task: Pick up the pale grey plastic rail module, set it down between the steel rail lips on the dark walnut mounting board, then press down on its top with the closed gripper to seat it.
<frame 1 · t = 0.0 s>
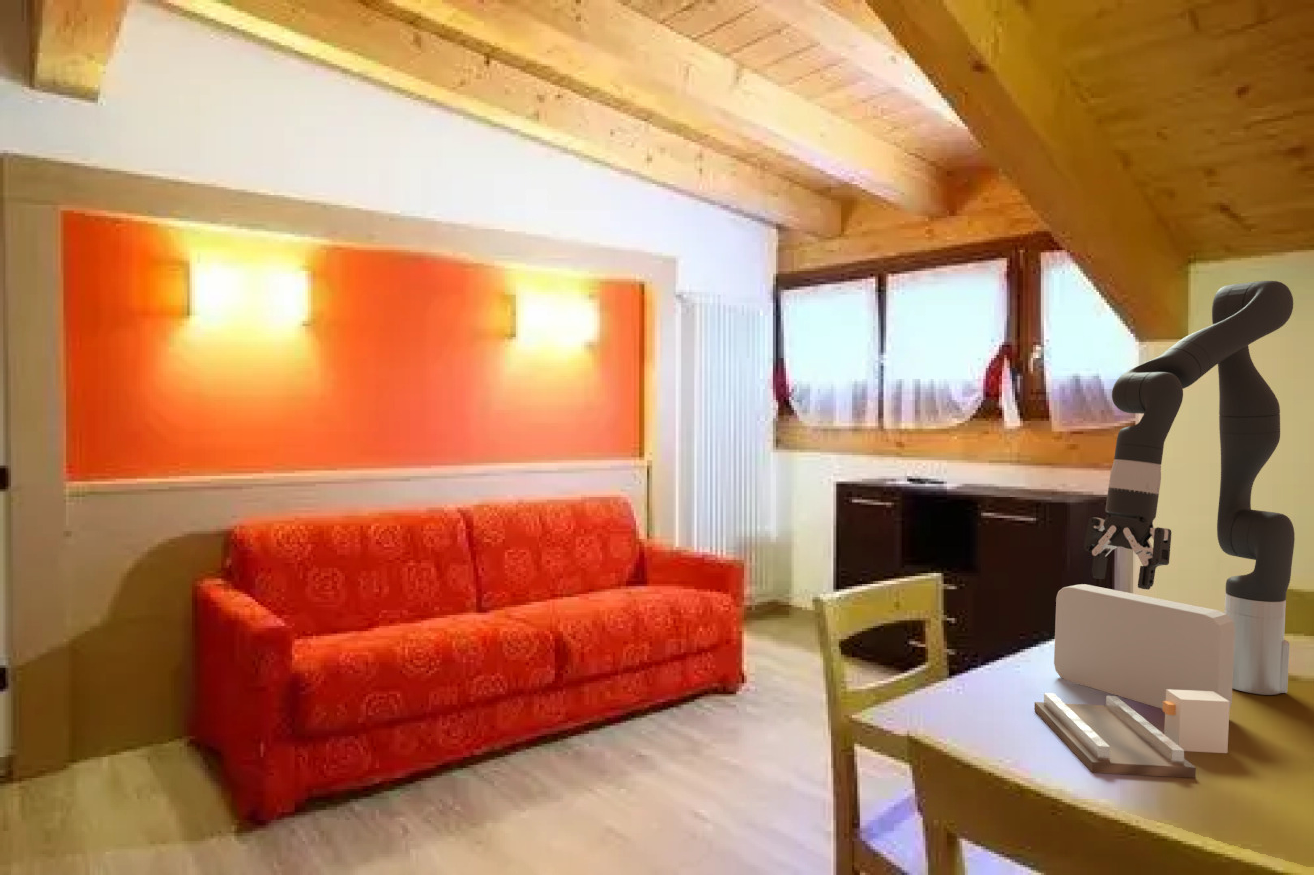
hand: (1120, 583, 143), 22 cm above the table, tool pointing down, fingers open, 8 cm apart
rail module: (1195, 746, 130), on the table
rounded white slab: (1136, 697, 152), on the table
mounting rail: (1107, 725, 132), on the mounting board, point 2 cm above the table
mounting board: (1107, 741, 132), on the table
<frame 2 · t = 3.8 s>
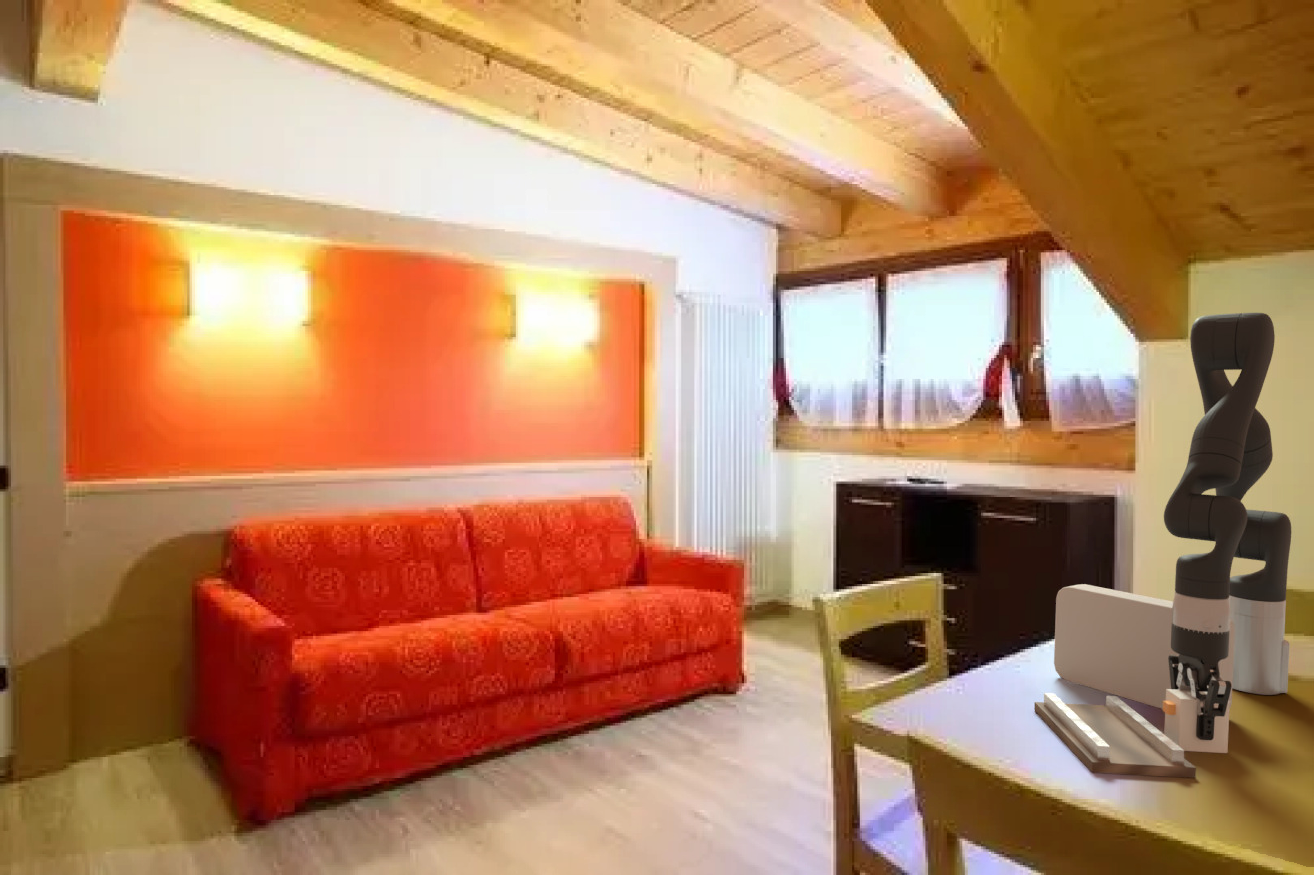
hand: (1195, 732, 130), 2 cm above the table, tool pointing down, fingers closed on rail module, 4 cm apart
rail module: (1195, 745, 130), on the table, touching gripper
everything else where it was.
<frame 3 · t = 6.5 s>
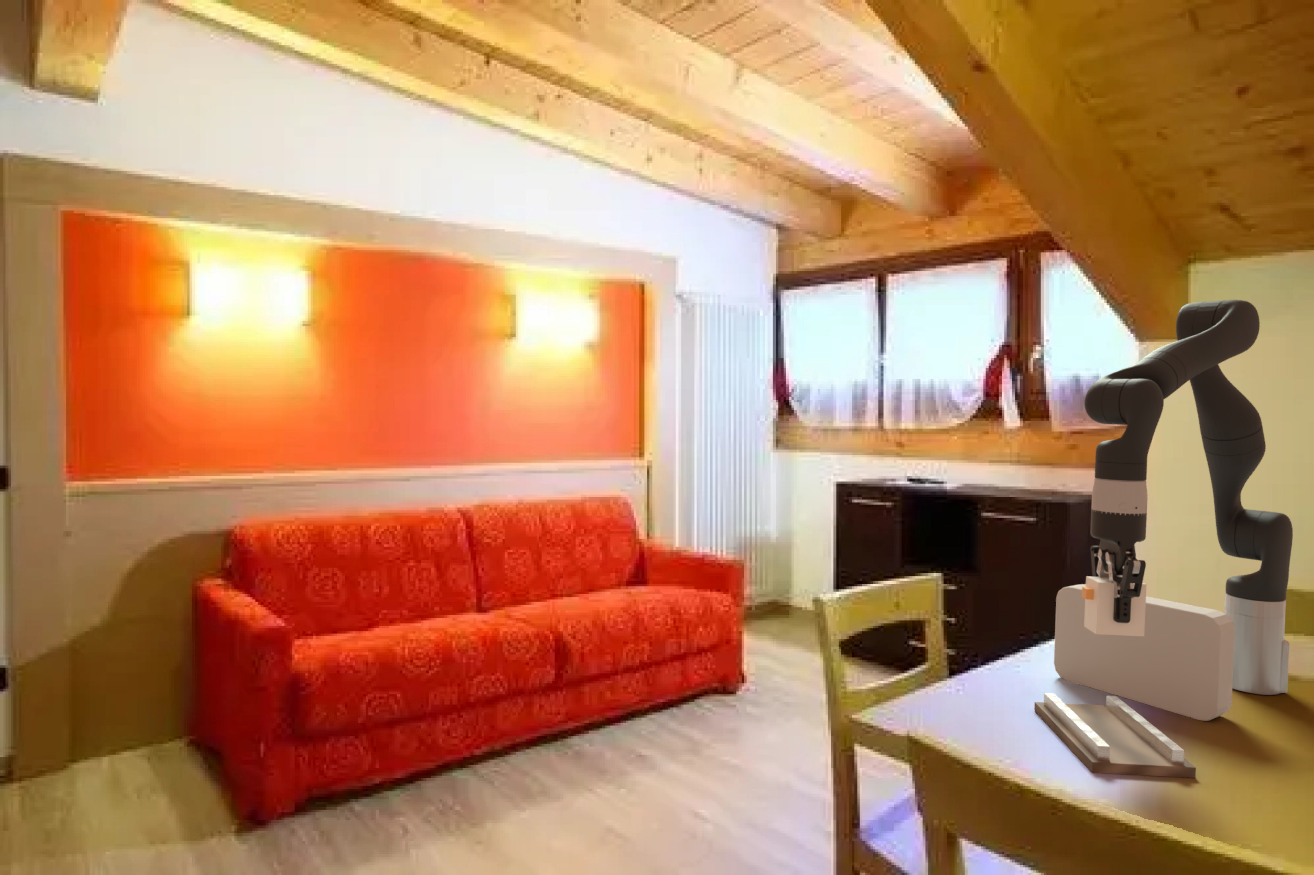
hand: (1114, 617, 130), 20 cm above the table, tool pointing down, fingers closed on rail module, 4 cm apart
rail module: (1113, 631, 131), point 18 cm above the table, touching gripper
everything else where it was.
when the fingers open (5 cm above the table, at t = 9.2 s): rail module stays where it is, resting on mounting board.
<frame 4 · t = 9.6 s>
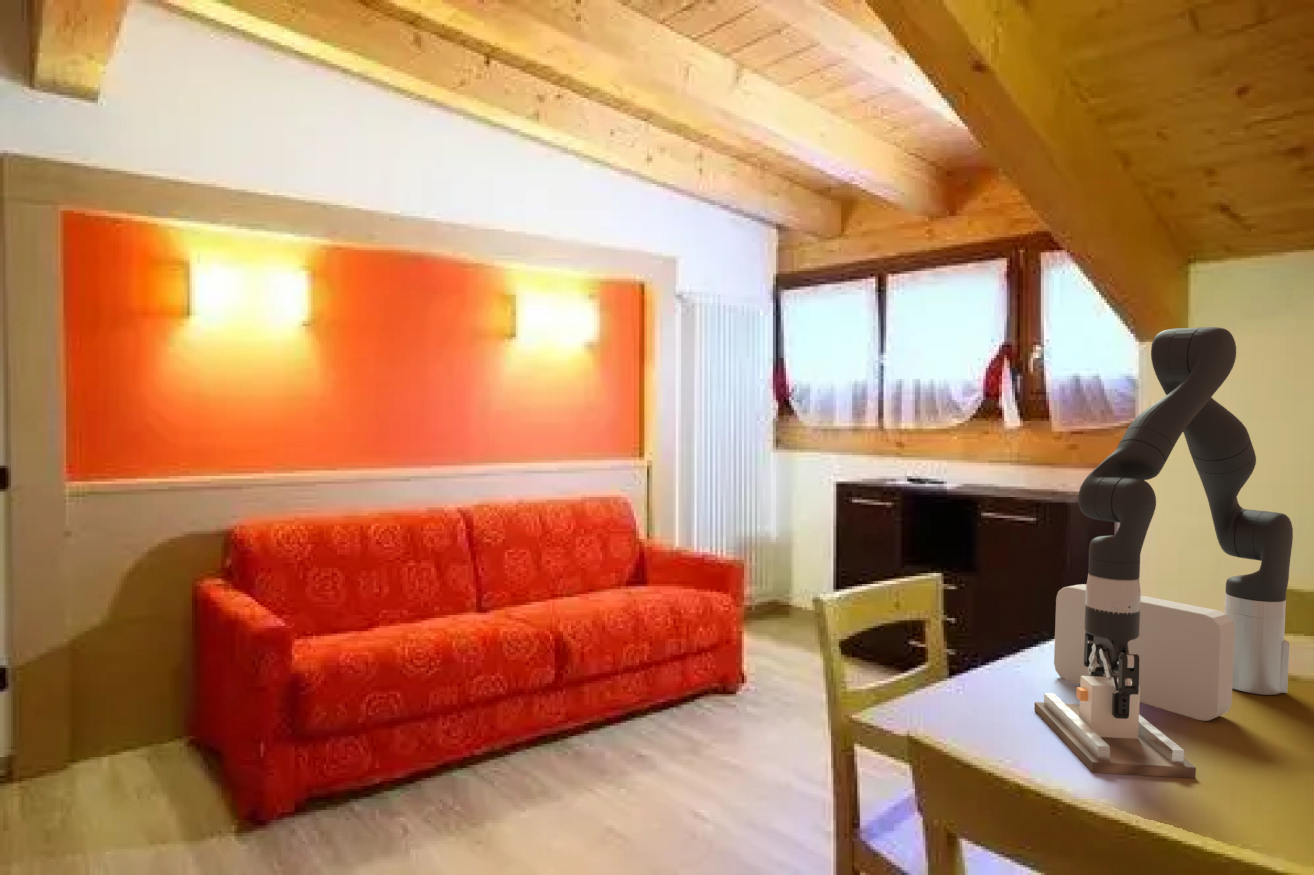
hand: (1108, 707, 131), 5 cm above the table, tool pointing down, fingers open, 8 cm apart
rail module: (1107, 731, 132), point 1 cm above the table, touching mounting board
everything else where it was.
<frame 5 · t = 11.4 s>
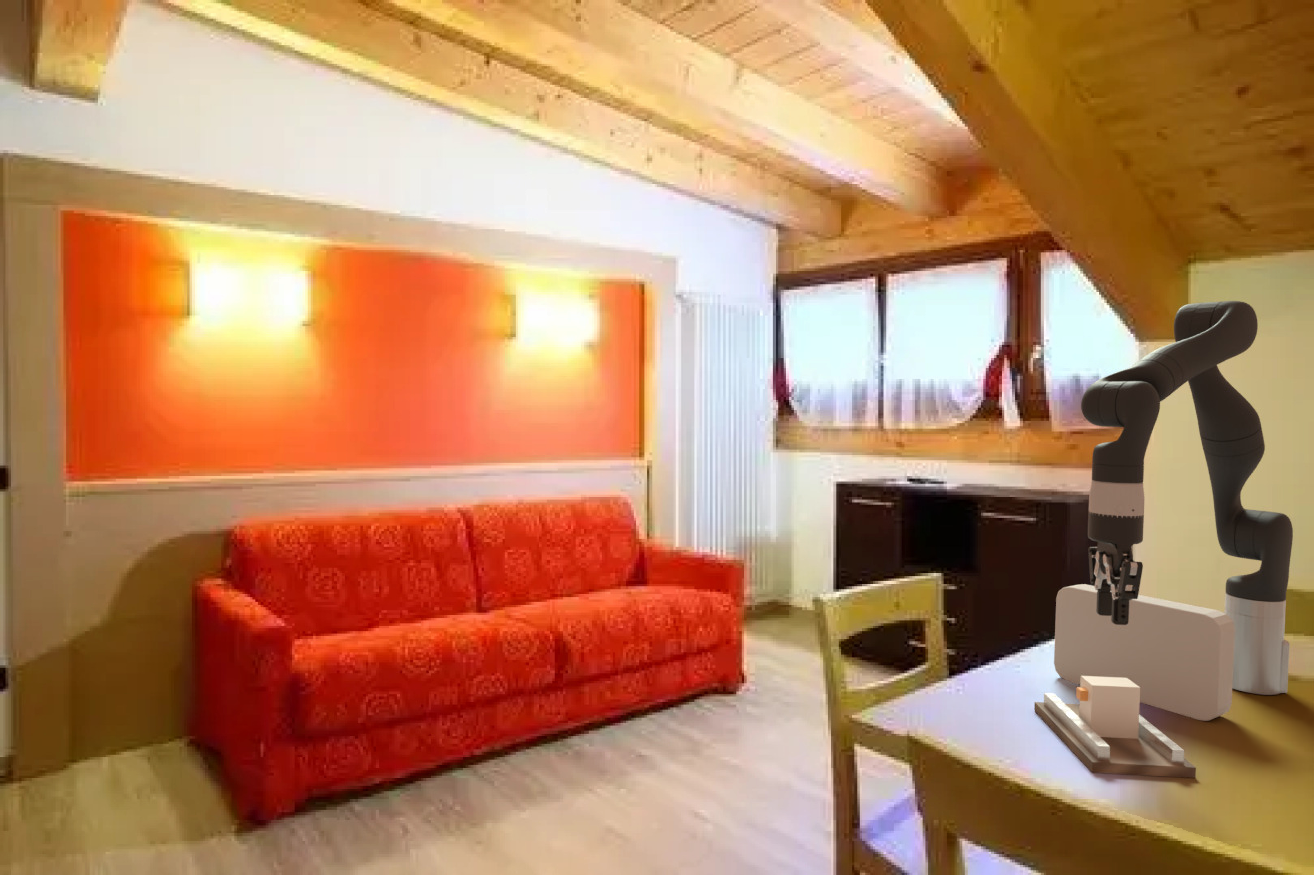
hand: (1111, 618, 131), 19 cm above the table, tool pointing down, fingers open, 5 cm apart
nothing on the table moved.
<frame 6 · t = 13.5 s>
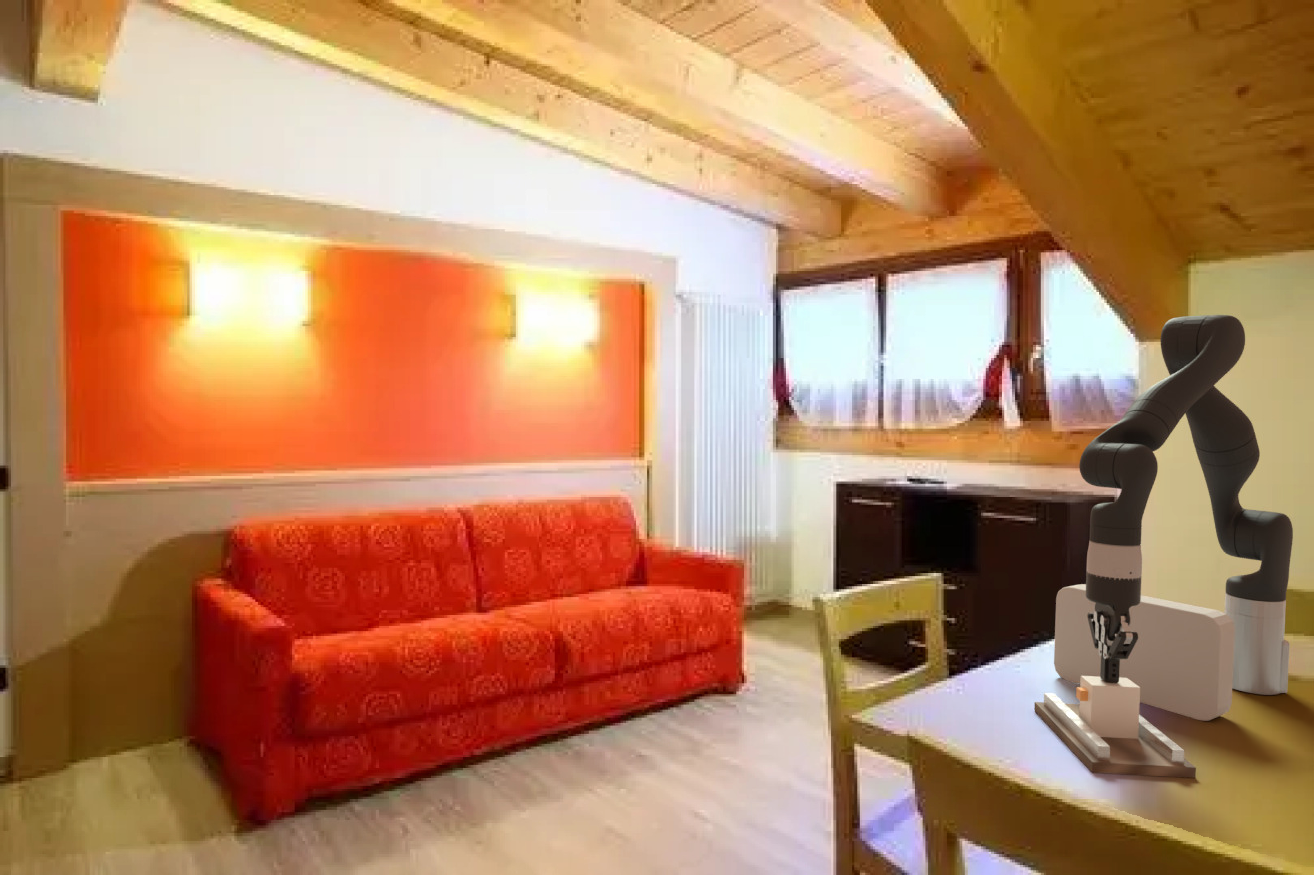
hand: (1109, 681, 131), 10 cm above the table, tool pointing down, fingers closed
rail module: (1107, 731, 132), point 1 cm above the table, touching gripper, mounting board
everything else where it was.
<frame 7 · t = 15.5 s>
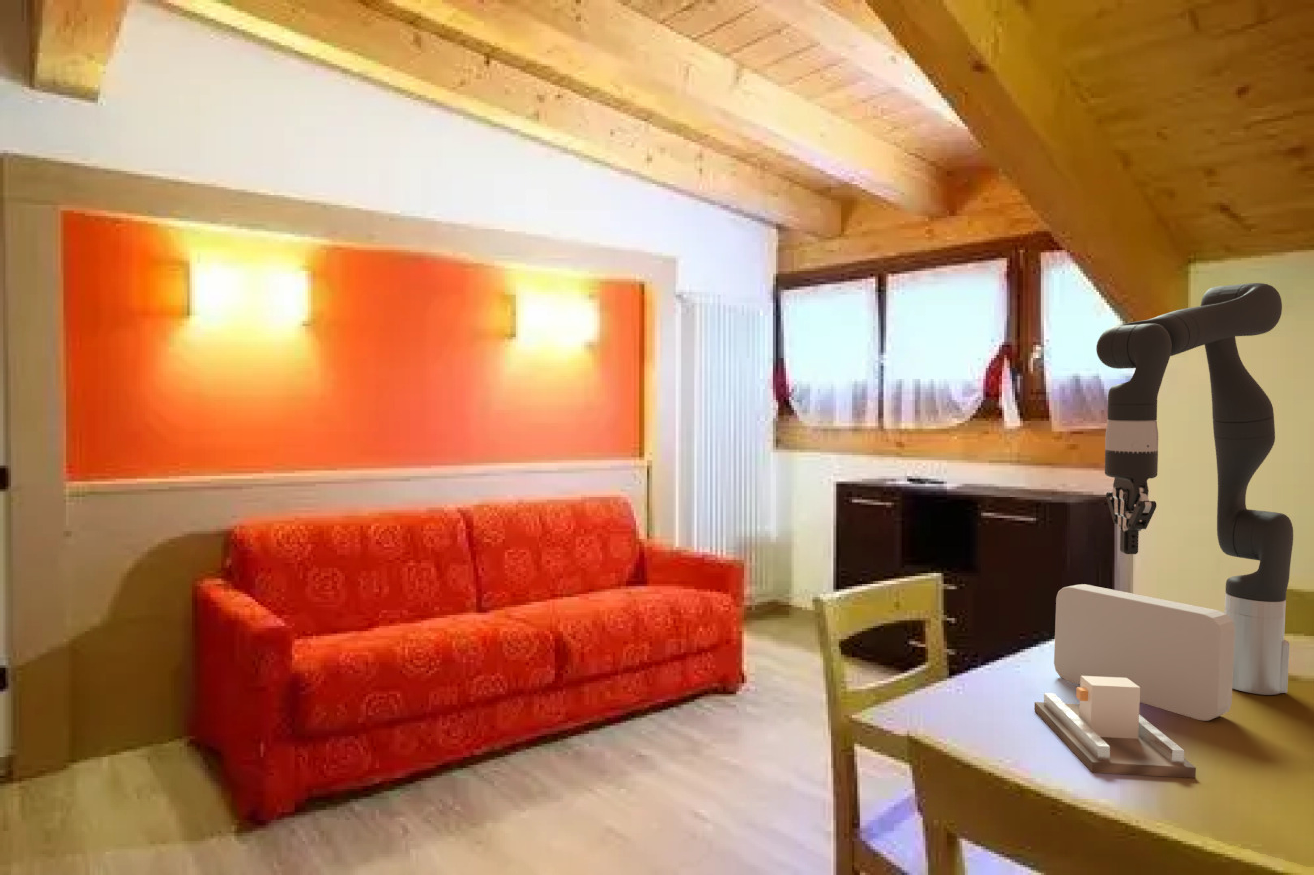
hand: (1128, 553, 138), 28 cm above the table, tool pointing down, fingers closed
rail module: (1107, 731, 132), point 1 cm above the table, touching mounting board
everything else where it was.
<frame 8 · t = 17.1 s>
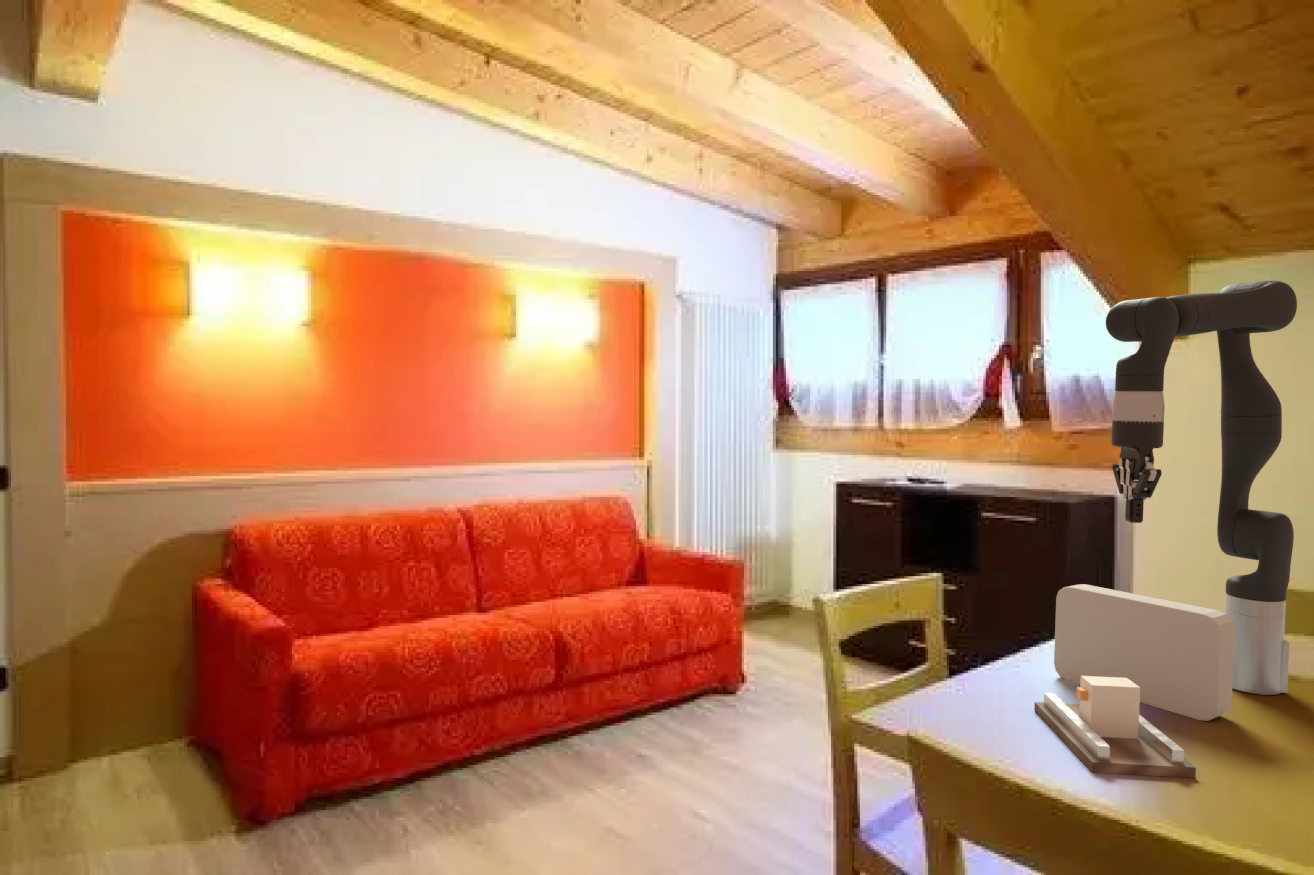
hand: (1133, 521, 141), 33 cm above the table, tool pointing down, fingers closed
nothing on the table moved.
at the end: rail module inside the target area on the mounting rail (0.1 cm from its centre), point 1.5 cm above the mounting rail's base; rail module tilted 0°; the gripper is holding nothing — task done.
